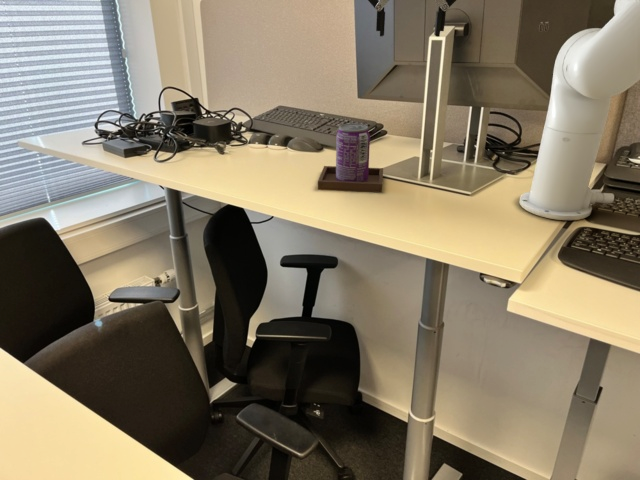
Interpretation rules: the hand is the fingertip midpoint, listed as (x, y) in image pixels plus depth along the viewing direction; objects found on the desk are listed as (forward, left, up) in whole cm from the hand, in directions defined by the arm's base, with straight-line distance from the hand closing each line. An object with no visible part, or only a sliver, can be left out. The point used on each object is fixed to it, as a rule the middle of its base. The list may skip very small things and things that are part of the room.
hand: (409, 35), depth 83 cm
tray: (+10, -6, -30) cm, 32 cm away
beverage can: (+10, -6, -30) cm, 32 cm away
